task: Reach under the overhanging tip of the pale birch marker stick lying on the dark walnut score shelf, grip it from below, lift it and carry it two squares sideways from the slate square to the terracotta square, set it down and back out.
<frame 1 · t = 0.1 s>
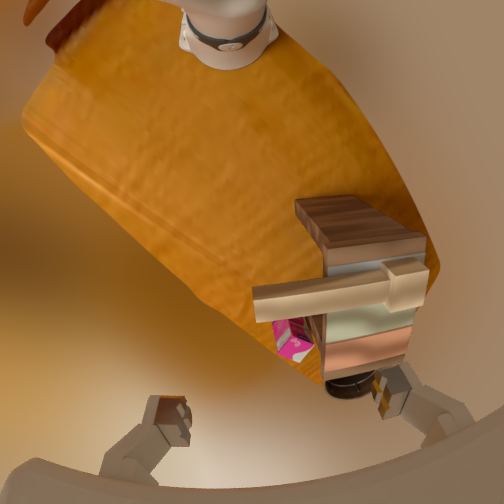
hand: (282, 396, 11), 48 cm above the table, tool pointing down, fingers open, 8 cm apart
marker stick: (319, 289, 34), point 26 cm above the table, touching score shelf
score shelf: (325, 247, 61), on the table
plant pot: (339, 332, 70), on the table
supplement box: (288, 318, 67), on the table
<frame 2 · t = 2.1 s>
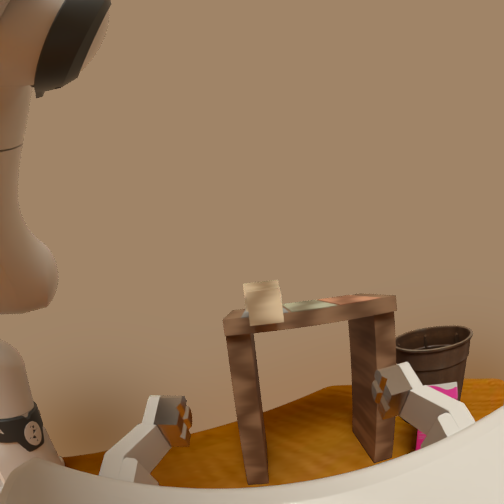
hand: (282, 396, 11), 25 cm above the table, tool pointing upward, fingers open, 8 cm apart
marker stick: (264, 315, 33), point 26 cm above the table, touching score shelf
score shelf: (316, 456, 38), on the table
plant pot: (429, 413, 42), on the table
supplement box: (432, 454, 29), on the table
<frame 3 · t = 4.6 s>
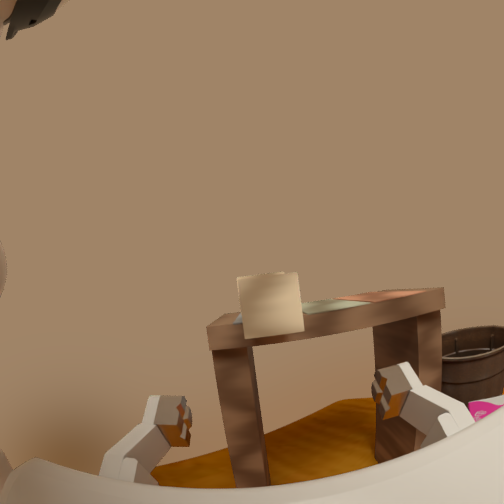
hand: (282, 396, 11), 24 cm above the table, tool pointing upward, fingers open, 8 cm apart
marker stick: (268, 319, 22), point 26 cm above the table, touching score shelf
score shelf: (333, 492, 26), on the table
plant pot: (462, 429, 30), on the table
supplement box: (474, 481, 18), on the table
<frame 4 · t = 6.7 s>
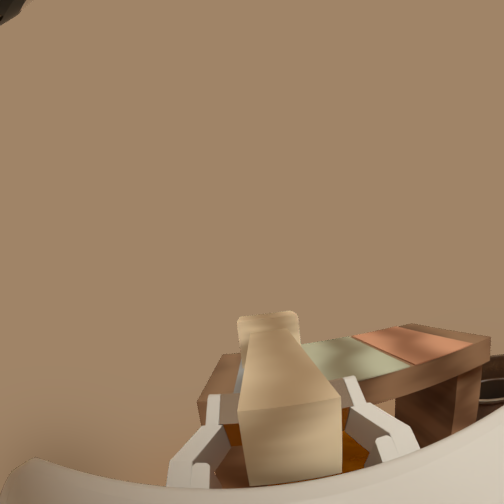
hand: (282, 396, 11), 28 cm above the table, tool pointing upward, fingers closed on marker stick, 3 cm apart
marker stick: (279, 399, 15), point 26 cm above the table, touching gripper, score shelf
plant pot: (478, 463, 23), on the table
when the fingers open (30 cm above the table, at t = 10.7 s): marker stick stays where it is, resting on score shelf.
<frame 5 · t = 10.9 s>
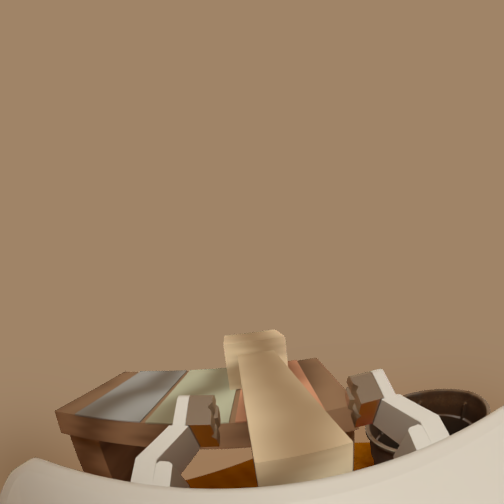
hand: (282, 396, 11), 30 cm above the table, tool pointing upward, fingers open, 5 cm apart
marker stick: (274, 427, 14), point 26 cm above the table, touching score shelf
plant pot: (414, 503, 23), on the table
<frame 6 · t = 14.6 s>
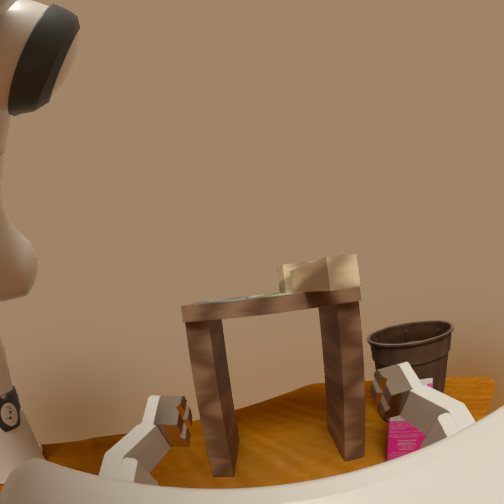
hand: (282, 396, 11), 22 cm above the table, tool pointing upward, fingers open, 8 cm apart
marker stick: (319, 289, 33), point 26 cm above the table, touching score shelf
score shelf: (286, 451, 38), on the table
plant pot: (410, 412, 42), on the table
supplement box: (408, 454, 29), on the table
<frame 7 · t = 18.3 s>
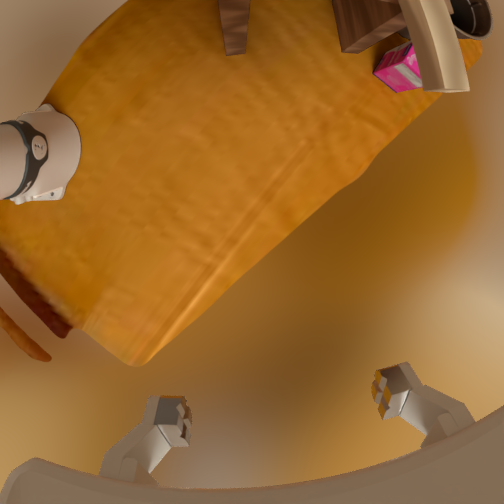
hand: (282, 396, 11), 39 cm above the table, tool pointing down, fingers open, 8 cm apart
marker stick: (414, 9, 15), point 26 cm above the table, touching score shelf
score shelf: (290, 20, 36), on the table
plant pot: (408, 18, 34), on the table
supplement box: (389, 72, 39), on the table
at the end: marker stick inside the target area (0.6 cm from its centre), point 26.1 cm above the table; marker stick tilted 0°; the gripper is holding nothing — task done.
